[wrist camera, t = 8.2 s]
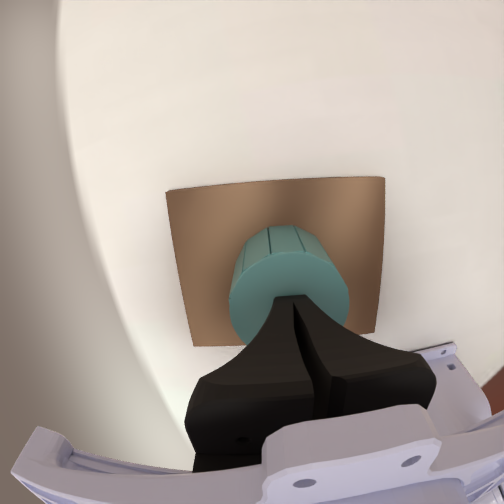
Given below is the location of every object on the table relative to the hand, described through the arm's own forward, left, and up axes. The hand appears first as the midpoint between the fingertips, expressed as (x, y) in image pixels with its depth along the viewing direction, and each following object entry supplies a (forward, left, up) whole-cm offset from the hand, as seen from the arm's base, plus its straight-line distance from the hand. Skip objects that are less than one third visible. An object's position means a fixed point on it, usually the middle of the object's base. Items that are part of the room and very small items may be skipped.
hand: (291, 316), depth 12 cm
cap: (0, 0, -5) cm, 5 cm away
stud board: (0, 0, -6) cm, 6 cm away
